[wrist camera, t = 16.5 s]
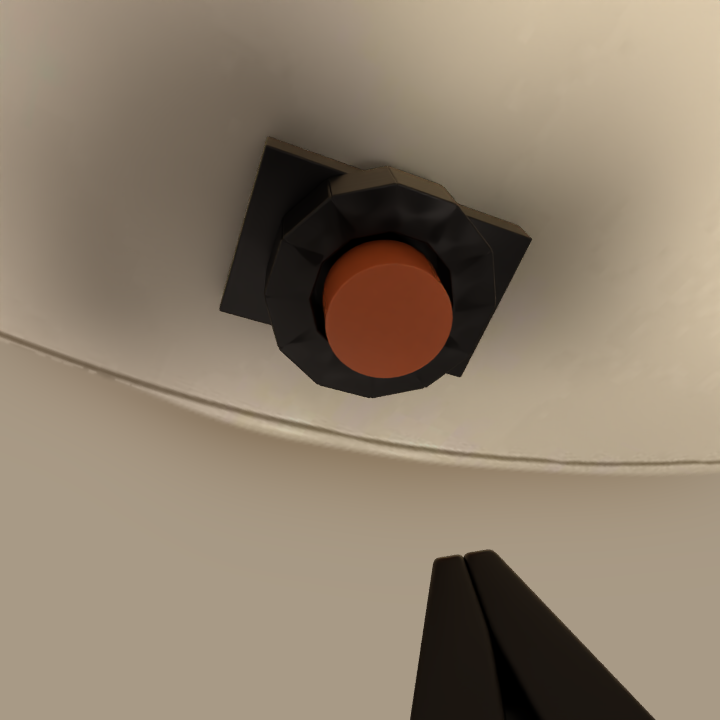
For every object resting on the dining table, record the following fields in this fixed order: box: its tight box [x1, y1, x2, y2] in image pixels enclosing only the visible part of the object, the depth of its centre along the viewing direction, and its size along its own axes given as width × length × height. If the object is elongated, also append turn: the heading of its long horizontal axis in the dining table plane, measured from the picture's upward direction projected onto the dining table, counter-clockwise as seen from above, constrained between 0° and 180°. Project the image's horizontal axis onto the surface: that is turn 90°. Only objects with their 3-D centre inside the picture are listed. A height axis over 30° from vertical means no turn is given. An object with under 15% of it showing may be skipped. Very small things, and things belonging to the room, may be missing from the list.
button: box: [322, 240, 453, 378], centre depth 16 cm, size 3×3×2 cm
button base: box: [219, 137, 532, 398], centre depth 18 cm, size 8×6×3 cm
